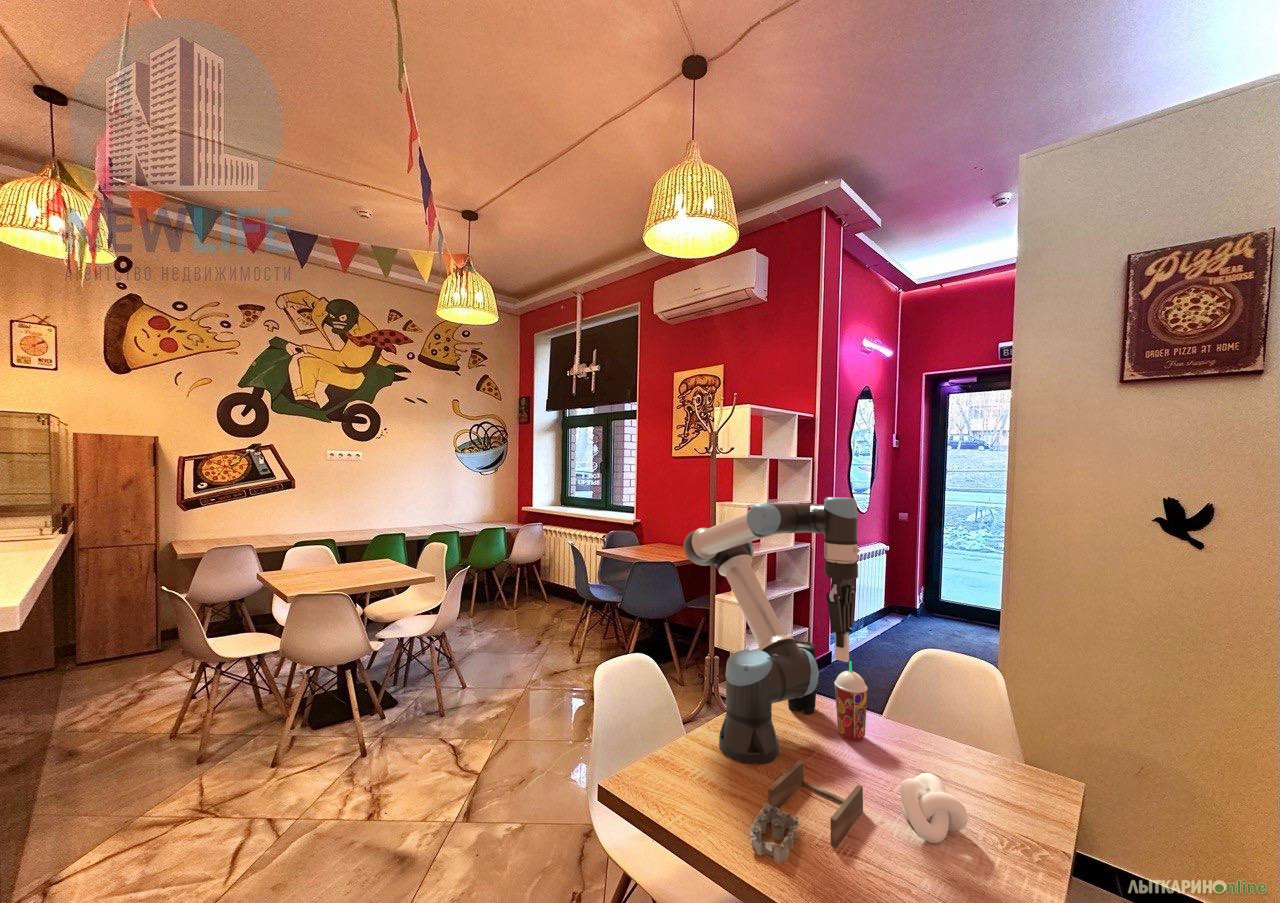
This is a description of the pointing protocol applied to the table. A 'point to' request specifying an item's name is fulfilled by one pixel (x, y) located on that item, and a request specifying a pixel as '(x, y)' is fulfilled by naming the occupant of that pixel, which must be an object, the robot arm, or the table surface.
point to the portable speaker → (808, 701)
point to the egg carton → (774, 832)
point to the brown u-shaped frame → (843, 815)
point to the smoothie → (851, 705)
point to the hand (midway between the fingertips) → (842, 659)
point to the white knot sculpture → (931, 807)
